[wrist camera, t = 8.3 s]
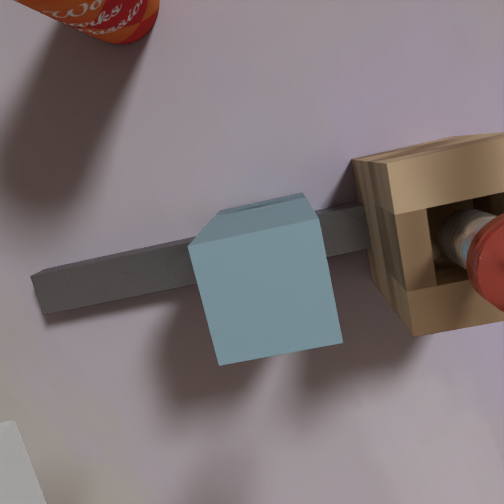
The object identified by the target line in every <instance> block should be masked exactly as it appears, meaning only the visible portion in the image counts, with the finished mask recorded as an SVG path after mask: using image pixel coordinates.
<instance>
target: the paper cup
mask: <svg viewBox="0 0 504 504" xmlns="http://www.w3.org/2000/svg"><path fill="white" fill-rule="evenodd" d="M14 1H16V2H19V3H21V4H23V5H25V6H27V7H29V8H31V9H34V10H36V11H38V12H40V13H42V14H44V15H47V16H49V17H51V18H53V19H55V20H57V21H59V22H62V23H64V24H66V25H68V26H70V27H73V28H75V29H77V30H79V31H81V32H84V33H86V34H88V35H90V36H92V37H95V38H97V39H100V40H102V41H105V42H108V43H112V44H129V43H132V42H135V41H137V40H139V39H141V38H142V37H143V36H145V35H146V34H147V33H148V32H149V30H150V29H151V28H152V26H153V25H154V23H155V20H156V18H157V15H158V11H159V0H14Z"/></svg>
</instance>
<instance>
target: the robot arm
mask: <svg viewBox="0 0 504 504" xmlns="http://www.w3.org/2000/svg"><path fill="white" fill-rule="evenodd" d="M0 504H46V501H45V498H44V496H43V493H42V490H41V488H40V485H39V483H38V480H37V477H36V475H35V472H34V470H33V467H32V464H31V462H30V459H29V456H28V454H27V451H26V449H25V446H24V443H23V441H22V438H21V436H20V433H19V430H18V428H17V425H16V423H15V420H13V421H7V422H2V423H0Z"/></svg>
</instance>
